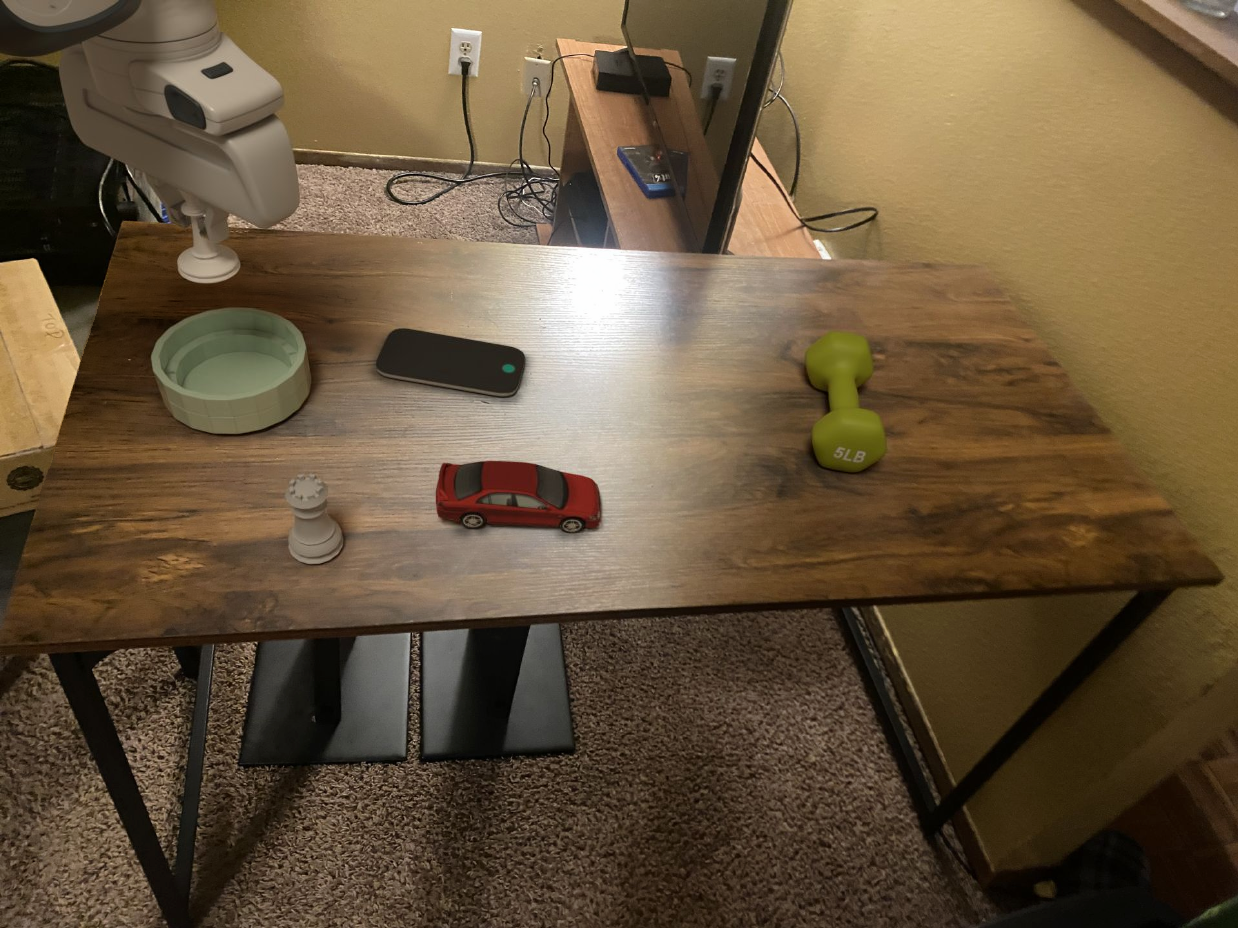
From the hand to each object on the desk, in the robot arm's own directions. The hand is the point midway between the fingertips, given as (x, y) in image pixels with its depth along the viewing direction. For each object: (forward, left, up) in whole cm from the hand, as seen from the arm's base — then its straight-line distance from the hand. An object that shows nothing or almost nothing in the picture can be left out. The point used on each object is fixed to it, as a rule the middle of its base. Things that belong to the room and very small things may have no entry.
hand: (200, 230), depth 69 cm
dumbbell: (+58, -22, -18) cm, 65 cm away
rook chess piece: (+3, -21, -18) cm, 28 cm away
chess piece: (0, 0, -4) cm, 4 cm away
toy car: (+21, -23, -18) cm, 36 cm away
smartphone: (+21, -2, -18) cm, 28 cm away
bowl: (0, 0, -18) cm, 18 cm away
